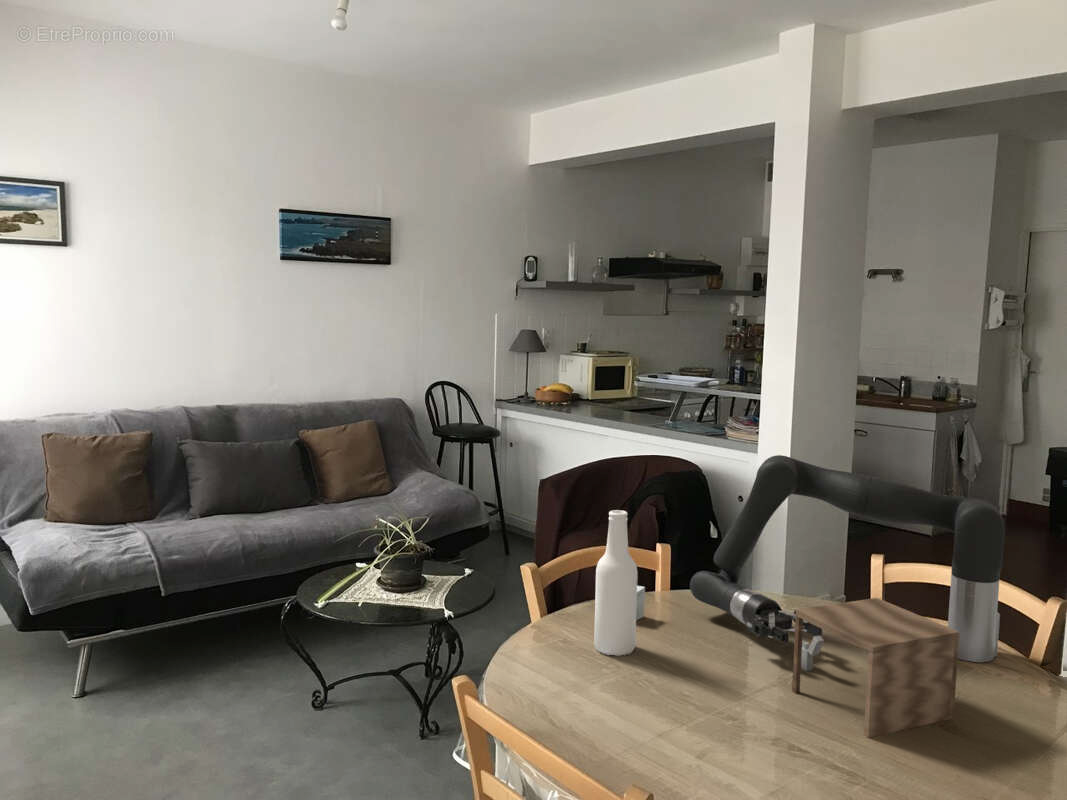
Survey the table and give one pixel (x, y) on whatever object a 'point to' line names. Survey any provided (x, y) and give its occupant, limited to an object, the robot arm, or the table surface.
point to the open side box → (892, 661)
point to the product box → (640, 602)
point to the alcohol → (616, 592)
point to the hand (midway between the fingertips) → (804, 635)
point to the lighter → (810, 652)
